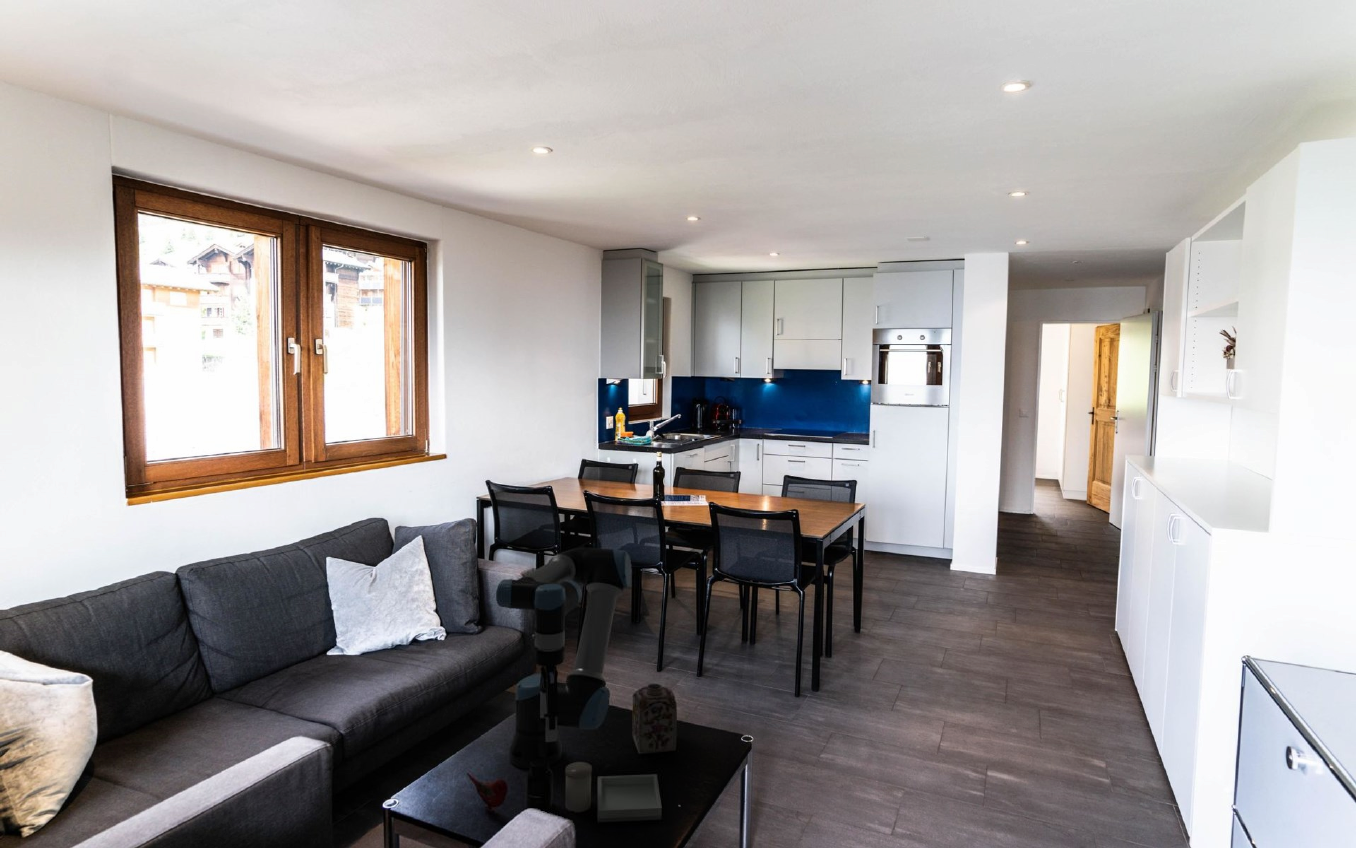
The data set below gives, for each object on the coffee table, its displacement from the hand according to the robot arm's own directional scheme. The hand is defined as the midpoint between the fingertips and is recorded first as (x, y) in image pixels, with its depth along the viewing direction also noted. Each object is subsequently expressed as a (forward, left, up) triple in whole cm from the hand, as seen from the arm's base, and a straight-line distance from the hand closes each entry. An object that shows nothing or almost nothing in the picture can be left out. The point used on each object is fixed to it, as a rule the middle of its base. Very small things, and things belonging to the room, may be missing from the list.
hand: (548, 728), depth 189 cm
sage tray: (-1, +21, -21) cm, 30 cm away
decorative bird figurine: (-1, -15, -21) cm, 26 cm away
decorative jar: (-32, +30, -21) cm, 49 cm away
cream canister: (-1, +8, -21) cm, 23 cm away
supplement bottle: (-1, -2, -21) cm, 21 cm away
